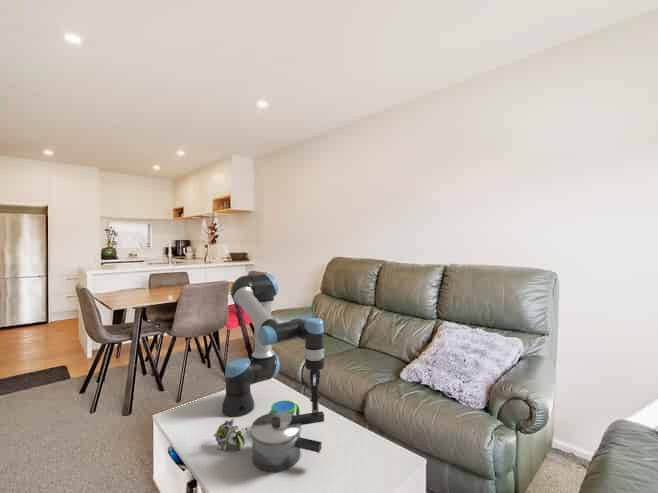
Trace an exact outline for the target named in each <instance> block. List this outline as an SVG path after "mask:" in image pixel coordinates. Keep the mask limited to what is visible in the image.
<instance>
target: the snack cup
mask: <svg viewBox="0 0 658 493" xmlns="http://www.w3.org/2000/svg"><path fill="white" fill-rule="evenodd" d="M274 412H286V413H291V414H293V415H301V413H300V407H299V405H298V404H297V403H295V402H293V401H290V400H285V399H283V400H278V401H276V402H274V403H272V404H271V408H270V411H269V412H268V414H269V413H274Z"/></svg>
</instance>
